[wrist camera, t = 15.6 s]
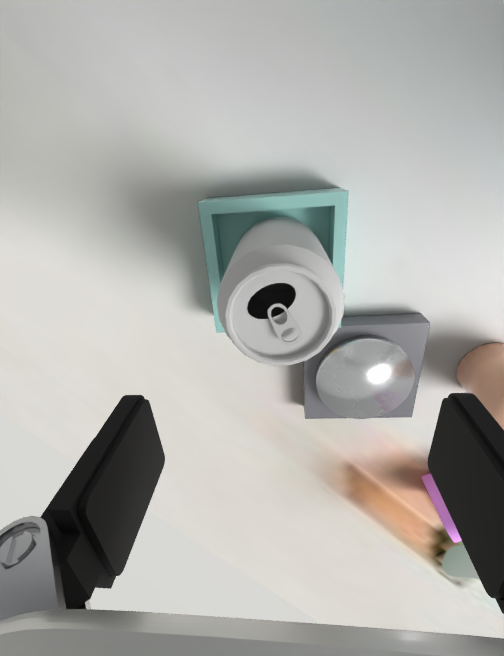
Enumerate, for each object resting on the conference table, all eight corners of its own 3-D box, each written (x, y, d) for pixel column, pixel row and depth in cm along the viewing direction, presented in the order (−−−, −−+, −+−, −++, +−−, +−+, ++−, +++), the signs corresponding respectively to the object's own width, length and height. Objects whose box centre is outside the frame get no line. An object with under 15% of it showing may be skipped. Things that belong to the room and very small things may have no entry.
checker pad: (416, 333, 29) (422, 339, 28) (403, 409, 33) (407, 418, 32) (315, 336, 30) (317, 343, 29) (314, 411, 34) (316, 419, 33)
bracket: (420, 475, 41) (446, 531, 34) (465, 459, 39) (501, 515, 33) (458, 529, 45) (487, 588, 39) (500, 517, 43) (537, 576, 37)
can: (295, 196, 26) (311, 222, 15) (336, 274, 28) (373, 343, 18) (218, 244, 28) (184, 298, 17) (263, 313, 31) (257, 395, 20)
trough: (340, 187, 26) (348, 191, 23) (334, 312, 31) (341, 327, 28) (205, 198, 27) (197, 202, 24) (221, 317, 32) (216, 332, 29)
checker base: (421, 313, 30) (434, 326, 28) (404, 404, 35) (414, 422, 33) (300, 318, 31) (302, 332, 29) (301, 406, 36) (302, 424, 34)
